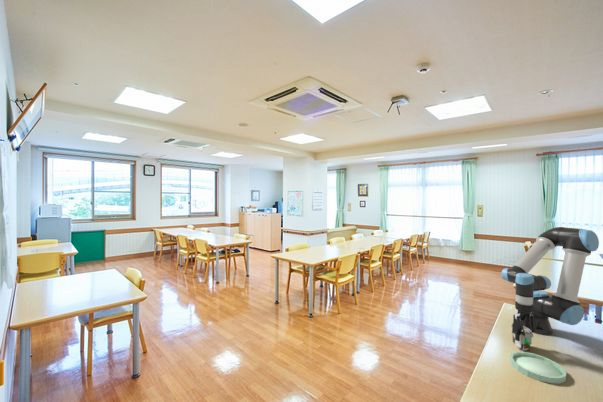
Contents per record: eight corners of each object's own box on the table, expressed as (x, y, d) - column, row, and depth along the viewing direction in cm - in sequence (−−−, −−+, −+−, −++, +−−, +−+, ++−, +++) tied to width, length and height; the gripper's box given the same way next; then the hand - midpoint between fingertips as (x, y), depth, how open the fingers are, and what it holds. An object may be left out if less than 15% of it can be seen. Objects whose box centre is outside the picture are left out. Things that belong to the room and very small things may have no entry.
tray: (526, 353, 143) (526, 348, 143) (576, 377, 124) (576, 371, 124) (500, 361, 136) (500, 356, 136) (549, 388, 117) (549, 382, 117)
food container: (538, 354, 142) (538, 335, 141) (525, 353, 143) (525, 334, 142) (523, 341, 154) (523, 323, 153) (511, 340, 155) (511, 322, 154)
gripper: (528, 297, 155) (527, 337, 155) (504, 303, 147) (503, 344, 148) (544, 302, 148) (543, 344, 148) (519, 308, 140) (518, 352, 141)
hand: (523, 344), depth 148 cm, fingers closed on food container, 8 cm apart
